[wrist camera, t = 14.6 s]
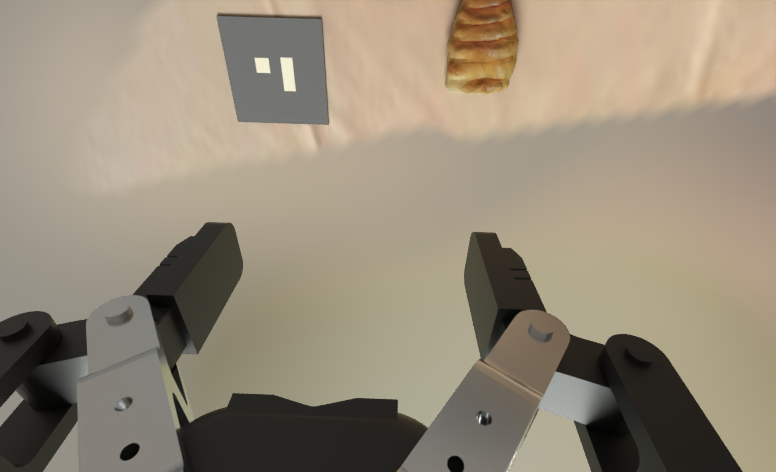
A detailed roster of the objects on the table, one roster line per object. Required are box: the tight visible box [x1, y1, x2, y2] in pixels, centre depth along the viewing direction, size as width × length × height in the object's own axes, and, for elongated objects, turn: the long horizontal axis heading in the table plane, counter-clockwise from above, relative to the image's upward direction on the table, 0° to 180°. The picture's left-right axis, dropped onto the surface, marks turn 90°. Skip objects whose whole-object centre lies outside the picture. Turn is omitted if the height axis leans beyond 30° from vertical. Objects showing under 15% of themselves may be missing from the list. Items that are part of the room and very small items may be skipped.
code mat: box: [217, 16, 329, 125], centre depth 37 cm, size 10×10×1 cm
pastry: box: [445, 0, 518, 94], centre depth 34 cm, size 9×7×4 cm
